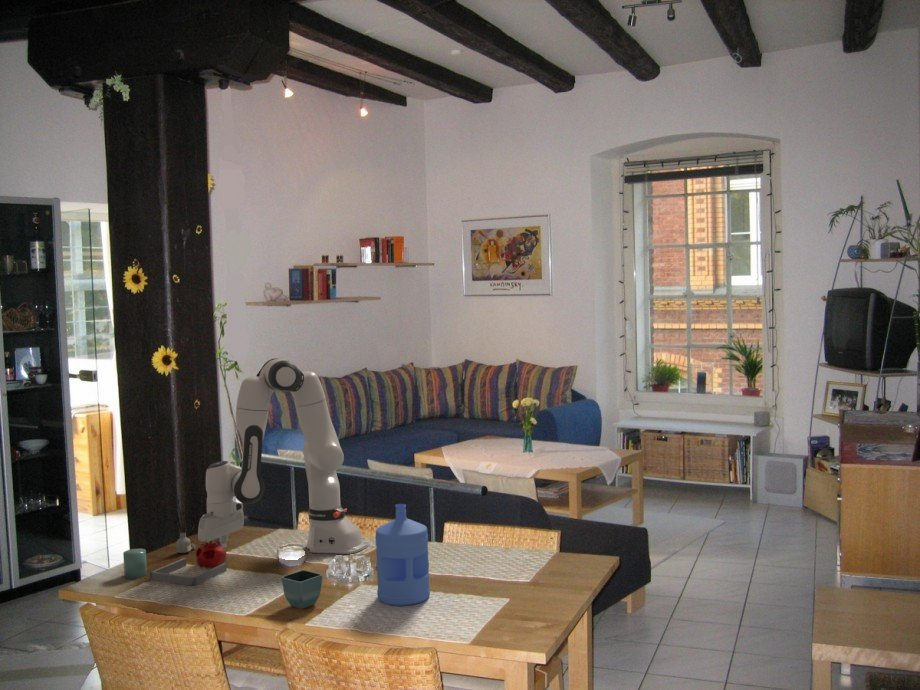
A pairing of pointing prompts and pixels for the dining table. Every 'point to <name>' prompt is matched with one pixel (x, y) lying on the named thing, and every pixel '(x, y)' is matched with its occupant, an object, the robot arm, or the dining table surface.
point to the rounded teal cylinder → (135, 563)
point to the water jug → (402, 561)
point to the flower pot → (302, 588)
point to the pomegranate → (210, 555)
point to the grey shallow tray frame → (163, 576)
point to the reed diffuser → (183, 536)
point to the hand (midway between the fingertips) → (222, 548)
